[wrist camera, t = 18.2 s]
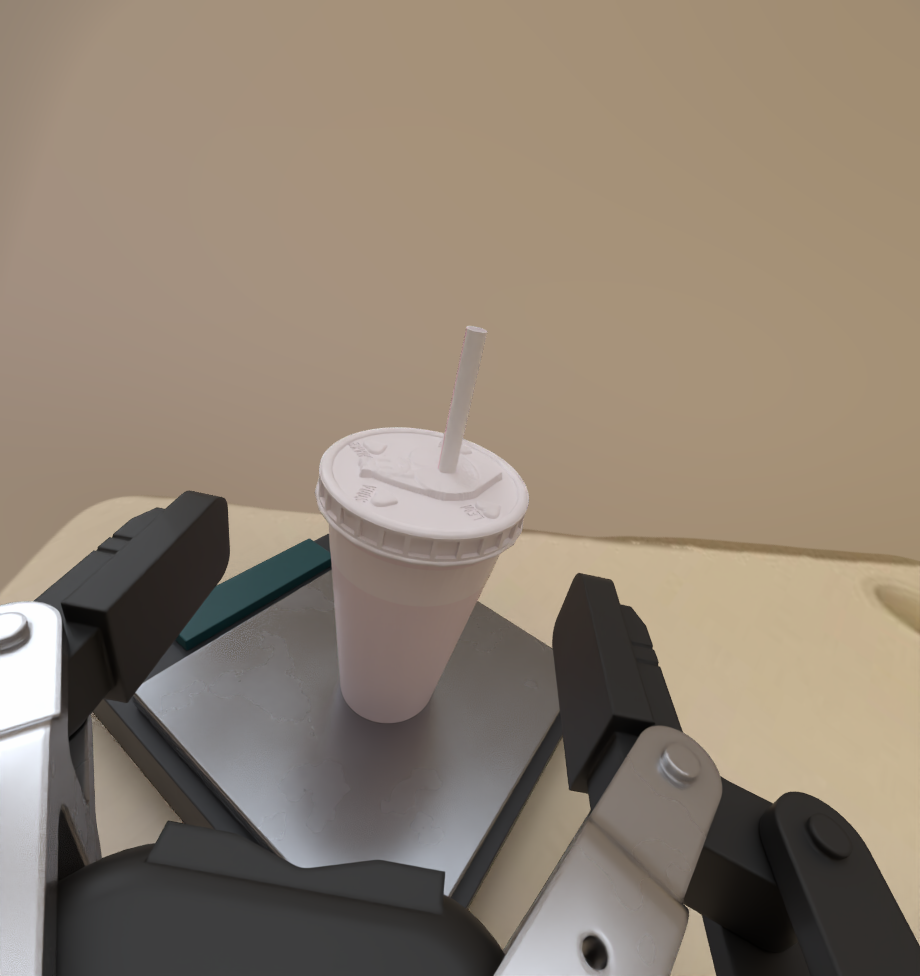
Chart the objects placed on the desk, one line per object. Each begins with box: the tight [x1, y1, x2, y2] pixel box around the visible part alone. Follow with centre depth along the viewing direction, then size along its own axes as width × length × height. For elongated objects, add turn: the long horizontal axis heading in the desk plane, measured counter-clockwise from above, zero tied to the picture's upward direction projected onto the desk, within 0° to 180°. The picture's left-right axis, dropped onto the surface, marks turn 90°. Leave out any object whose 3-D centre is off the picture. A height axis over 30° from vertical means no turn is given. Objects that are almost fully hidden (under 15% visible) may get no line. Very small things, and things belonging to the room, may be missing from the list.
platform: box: [132, 570, 560, 898], centre depth 20 cm, size 12×13×1 cm
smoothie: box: [315, 326, 529, 723], centre depth 16 cm, size 6×6×14 cm
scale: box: [93, 534, 563, 910], centre depth 21 cm, size 16×14×3 cm
